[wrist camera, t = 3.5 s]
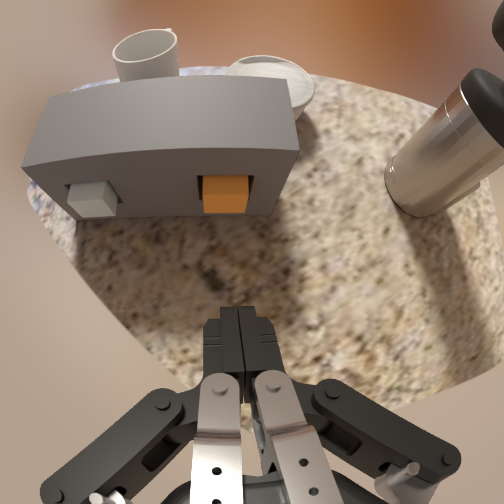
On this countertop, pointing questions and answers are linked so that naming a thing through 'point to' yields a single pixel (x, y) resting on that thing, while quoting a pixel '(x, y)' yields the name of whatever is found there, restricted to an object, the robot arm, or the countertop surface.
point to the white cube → (93, 199)
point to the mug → (147, 55)
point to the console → (167, 142)
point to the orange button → (225, 193)
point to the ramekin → (278, 68)
